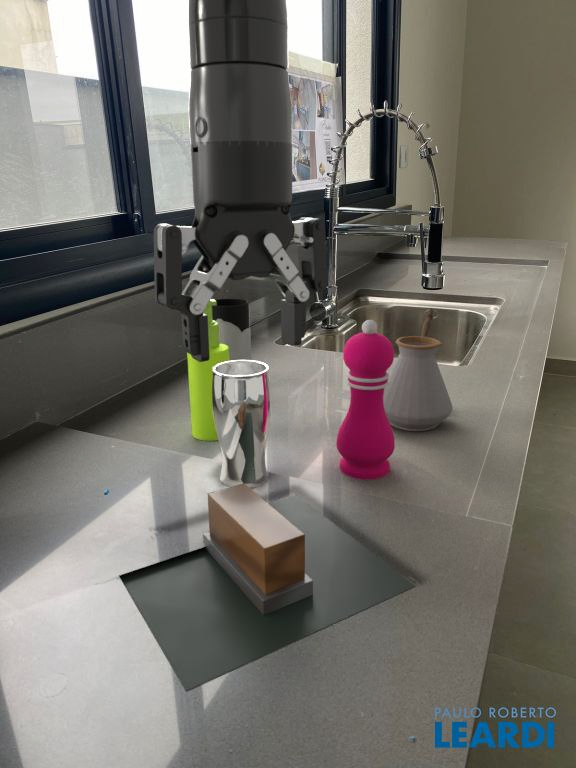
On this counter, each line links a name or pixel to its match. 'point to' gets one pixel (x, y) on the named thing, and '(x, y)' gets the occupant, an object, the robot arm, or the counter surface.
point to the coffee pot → (417, 384)
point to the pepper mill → (366, 406)
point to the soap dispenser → (205, 382)
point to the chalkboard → (237, 612)
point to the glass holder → (234, 327)
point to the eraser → (257, 548)
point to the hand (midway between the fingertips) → (247, 351)
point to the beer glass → (242, 420)
